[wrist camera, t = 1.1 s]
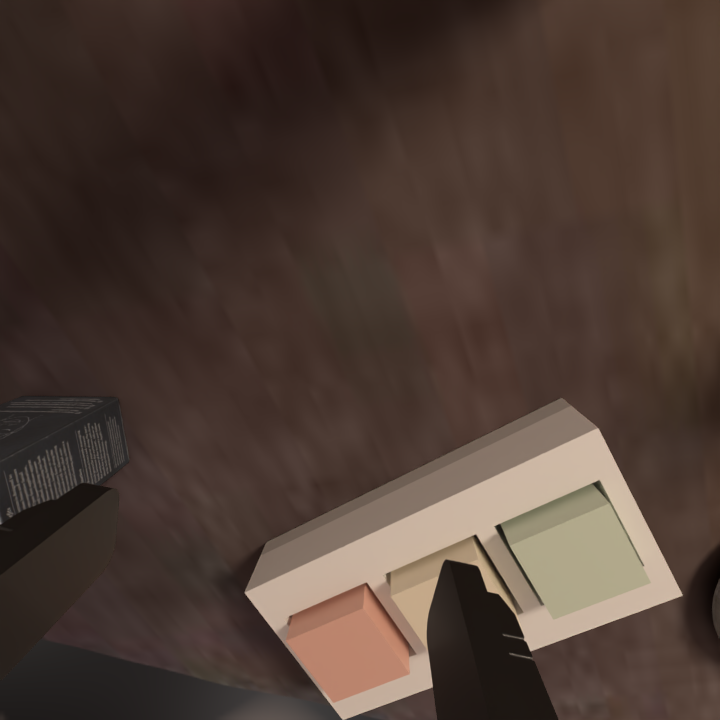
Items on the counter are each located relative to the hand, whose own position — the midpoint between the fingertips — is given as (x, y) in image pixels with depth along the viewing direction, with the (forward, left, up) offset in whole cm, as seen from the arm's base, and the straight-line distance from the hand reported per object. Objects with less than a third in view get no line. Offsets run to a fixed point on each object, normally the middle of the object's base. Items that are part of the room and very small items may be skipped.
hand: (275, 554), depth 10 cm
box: (+21, -6, -19) cm, 29 cm away
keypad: (+1, +18, -19) cm, 26 cm away
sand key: (+1, +16, -15) cm, 22 cm away
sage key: (-7, +16, -15) cm, 23 cm away
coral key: (+9, +16, -15) cm, 24 cm away
